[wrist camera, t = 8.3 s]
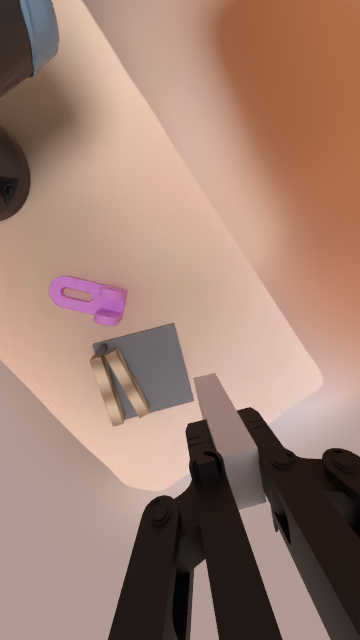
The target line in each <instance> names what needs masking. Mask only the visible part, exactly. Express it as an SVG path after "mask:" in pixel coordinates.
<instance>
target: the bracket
mask: <svg viewBox="0 0 360 640" xmlns="http://www.w3.org/2000/svg"><path fill="white" fill-rule="evenodd" d="M65 287H68V288H72V289H76V290H80V291H85V292H89V293H90V294H91V295H92V301H91V302H88V301H83V300H79V299H75V298H70V297H67V296H65V295H64V293H63V290H64V288H65ZM49 295H50V298H51V299H52V301H53V302H54V303H55V304H56V305H58V306H60V307H63V308H67V309H71V310H76V311H80V312H85V313H89V314H94V320H93V321H94V322H96V323H99V324H102V325H109V326H114V325H117V324H118V322H119V321H120V320H121V319H122V315H123V310H124V305H125V301H126V296H127V290H123V289H119V288H115V287H111V286H107V285H103V284H99V283H94V282H90V281H86V280H82V279H78V278H74V277H69V276H61V277H58V278H56V279H54V280H53V281H52V283H51V284H50V287H49Z"/></svg>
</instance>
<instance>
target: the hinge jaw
mask: <svg viewBox="0 0 360 640" xmlns="http://www.w3.org/2000/svg"><path fill="white" fill-rule="evenodd" d="M105 357H106V359H107V361H108V363H109V364H110V366H111V368H112V370H113V372H114V373H115V375H116V377H117V379H118V380H119V382H120V384H121V386H122V388H123V389H124V391H125V393H126V395H127V397H128V398H129V400H130V402H131V404H132V405H133V407H134V409H135V411H136V413H137V414H138V416H139V418H140V417H143V416H145V415H147V414H149V407H150V406H149V404H148V402H147V400H146V399H145V397H144V395H143V393H142V391H141V389H140V388H139V386H138V384H137V382H136V380H135V378H134V377H133V375H132V373H131V371H130V369H129V367H128V365H127V364H126V362H125V360H124V358H123V356H122V354H121V353H120V351H119V349H118V347H116V348H114V349H112V350H110V351H108V352H107V353H106V355H105Z"/></svg>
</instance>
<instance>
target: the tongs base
mask: <svg viewBox="0 0 360 640" xmlns="http://www.w3.org/2000/svg"><path fill="white" fill-rule="evenodd" d="M107 349H108V345H107V344H105V343H104V344H102V345H101V346H100V347H99V348H98V349H97V350H96V355H94V356H93V357H92V358H91V359H90V363H91V366H92V368H93V371H94V374H95V377H96V380H97V383H98V385H99V388H100V391H101V394H102V397H103V400H104V402H105V405H106V408H107V411H108V414H109V417H110V419H111V422H112V425H113V427H114V426H117V425H121V424H123V423H124V419H125V414H124V411H123V408H122V405H121V402H120V399H119V396H118V393H117V390H116V387H115V384H114V381H113V378H112V375H111V372H110V369H109V366H108V363H107V360H106V357H105V354H104V353H105V352H106V350H107Z"/></svg>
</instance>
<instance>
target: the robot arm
mask: <svg viewBox="0 0 360 640" xmlns="http://www.w3.org/2000/svg"><path fill="white" fill-rule="evenodd" d="M58 43H59V30H58V24H57V19H56V15H55V11H54V7H53V4H52V0H0V97H1V96H2V95H4V94H5V93H7V92H8V91H9V90H11V89H12V88H14V87H15V86H16V85H18V84H19V83H21V82H22V81H23V80H25V79H26V78H28V77H29V78H34V77H35V76H36V74H37V72H38V70H39V69H40V68H41V67H42V66H44V65H45V64H46V63H47V62H48V61H50V60H51V59H52V58H53V57H54V56H55V55H56V53H57V50H58ZM29 186H30V173H29V167H28V164H27V161H26V158H25V156H24V154H23V152H22V150H21V148H20V147H19V145H18V144H17V142H16V141H15V140H14V139H13V138H12V137H11V136H10V135H9V134H8V133H7V132H6V131H5V130H4V129H3V128H2V127H1V126H0V220H4V219H6V218H8V217H10V216H12V215H13V214H15V213H16V212H17V211H18V210H19V209H20V208H21V206H22V205H23V204H24V202H25V200H26V198H27V195H28V192H29ZM193 379H194V383H195V388H196V392H197V397H198V401H199V405H200V410H201V414H202V417H203V420H201V421H197V422H194V423H190V424H188V426H187V428H186V431H185V432H186V438H187V444H188V450H189V456H190V461H189V469H190V473H191V477H192V481H191V483H190V486H189V487H188V488H187V489H186V491H185V492H183V493H182V494H181V495H179V496H178V497H176V498H175V499H173V498H172V497H170V496H165V495H163V496H159V497H156V498H155V499H153V500H152V501H151V502H150V503H149V504H148V505H147V506H146V508H145V510H144V512H143V514H142V518H141V521H140V525H139V529H138V533H137V536H136V540H135V543H134V547H133V550H132V554H131V558H130V562H129V565H128V569H127V572H126V576H125V580H124V583H123V587H122V590H121V594H120V598H119V601H118V605H117V608H116V612H115V616H114V619H113V623H112V627H111V630H110V634H109V637H108V640H190V630H191V612H192V611H191V610H192V595H193V594H192V593H193V577H194V568H195V567H196V566H197V565H199V564H200V563H201V562H202V561H203V560H205V559H206V563H207V569H208V575H209V581H210V587H211V593H212V599H213V605H214V611H215V617H216V623H217V629H218V635H219V640H282V637H281V634H280V631H279V628H278V625H277V622H276V619H275V616H274V613H273V611H272V607H271V604H270V602H269V599H268V596H267V593H266V590H265V587H264V584H263V581H262V578H261V575H260V572H259V569H258V566H257V563H256V560H255V557H254V554H253V552H252V549H251V546H250V543H249V540H248V537H247V534H246V531H245V528H244V525H243V522H242V519H241V516H240V513H239V511H238V510H239V509H243V508H247V507H250V506H254V505H258V504H261V503H265V502H266V497H265V494H266V496H267V498H268V500H269V502H270V504H271V511H272V517H273V523H274V527H275V531H276V532H277V531H278V528H279V530H280V532H281V535H282V537H283V539H284V541H285V543H286V545H287V547H288V550H289V552H290V554H291V556H292V558H293V560H294V562H295V565H296V566H297V569H298V571H299V573H300V575H301V577H302V579H303V582H304V584H305V586H306V588H307V590H308V592H309V594H310V596H311V598H312V601H313V603H314V605H315V607H316V609H317V611H318V614H319V616H320V617H321V620H322V622H323V624H324V626H325V628H326V631H327V633H328V635H329V637H330V639H331V640H360V457H359V456H358V455H356V454H354V453H352V452H350V451H348V450H344V449H340V448H332V449H328V450H326V451H325V452H324V453H323V456H322V459H307V458H301V457H297V456H296V455H295V454H294V453H293V452H291V451H289V450H287V449H285V448H284V447H283V446H282V444H281V443H280V441H279V440H278V439H277V437H276V436H275V435H274V433H273V432H272V430H271V429H270V428H269V426H268V425H267V423H266V422H265V421H264V420H263V418H262V417H261V415H260V414H259V412H257V411H256V410H254V409H253V408H251V407H249V408H245V409H241V410H237V411H236V409H235V407H234V406H233V404H232V402H231V400H230V399H229V397H228V395H227V393H226V392H225V390H224V388H223V386H222V385H221V383H220V381H219V379H218V378H217V376H216V374H215V373H213V374H209V375H205V376H201V377H197V378H193Z"/></svg>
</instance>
